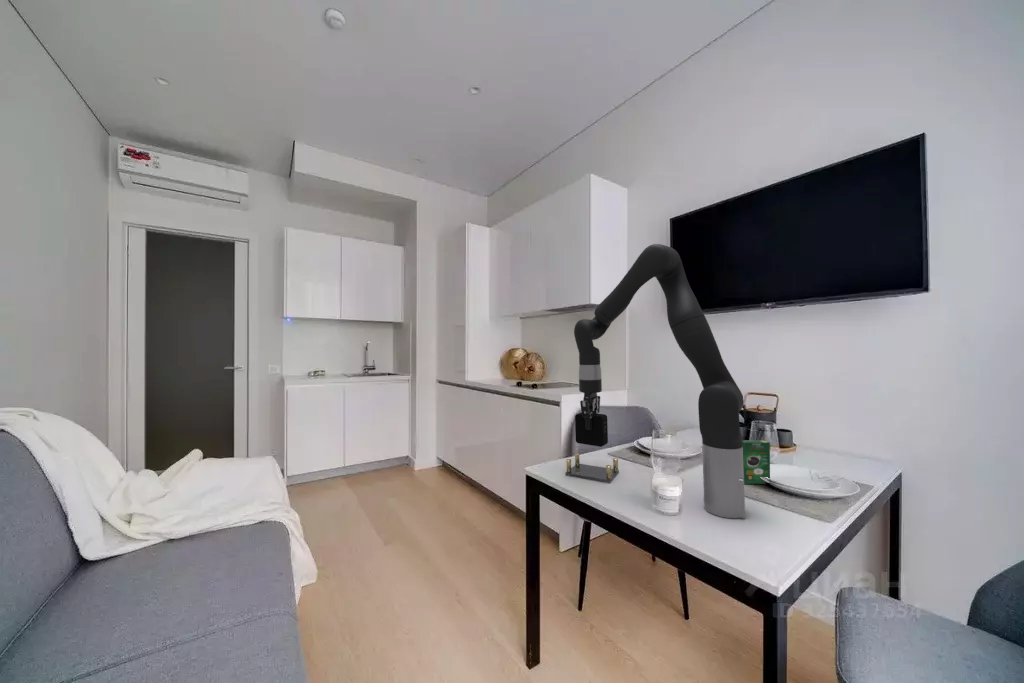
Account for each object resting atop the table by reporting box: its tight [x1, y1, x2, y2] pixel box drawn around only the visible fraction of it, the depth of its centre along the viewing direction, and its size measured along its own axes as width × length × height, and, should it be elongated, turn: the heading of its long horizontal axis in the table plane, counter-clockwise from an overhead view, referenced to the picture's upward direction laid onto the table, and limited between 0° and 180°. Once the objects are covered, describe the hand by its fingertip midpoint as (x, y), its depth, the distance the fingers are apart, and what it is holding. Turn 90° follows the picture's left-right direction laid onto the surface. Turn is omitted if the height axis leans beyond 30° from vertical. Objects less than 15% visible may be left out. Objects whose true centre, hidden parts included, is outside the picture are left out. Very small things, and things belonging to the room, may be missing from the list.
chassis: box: [565, 452, 620, 484], centre depth 124 cm, size 15×11×5 cm
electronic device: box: [574, 412, 609, 448], centre depth 124 cm, size 4×10×10 cm, turn 53°
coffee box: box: [743, 439, 771, 485], centre depth 114 cm, size 8×3×13 cm, turn 87°
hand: (591, 427), depth 124 cm, fingers closed on electronic device, 4 cm apart
